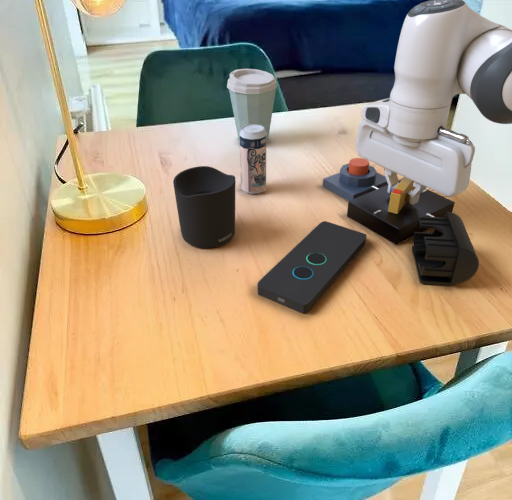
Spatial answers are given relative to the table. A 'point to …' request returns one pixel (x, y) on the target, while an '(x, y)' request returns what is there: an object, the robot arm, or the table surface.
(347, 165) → the button box
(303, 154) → the table surface
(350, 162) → the button
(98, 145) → the table surface
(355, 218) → the rotary switch
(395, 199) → the rotary switch knob
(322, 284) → the smart home device
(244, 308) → the table surface
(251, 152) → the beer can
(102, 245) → the table surface
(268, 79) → the disposable coffee cup
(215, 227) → the pen holder
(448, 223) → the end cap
